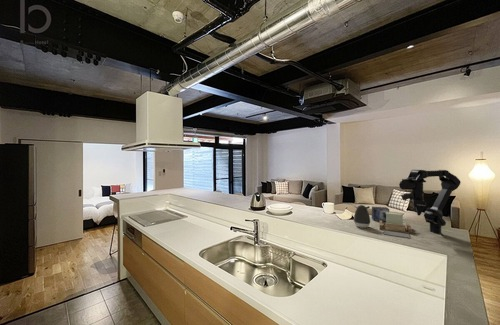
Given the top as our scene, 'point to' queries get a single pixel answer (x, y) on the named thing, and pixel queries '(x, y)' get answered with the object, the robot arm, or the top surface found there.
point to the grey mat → (396, 234)
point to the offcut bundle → (395, 227)
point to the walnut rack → (396, 230)
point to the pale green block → (394, 218)
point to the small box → (379, 213)
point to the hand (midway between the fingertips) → (417, 213)
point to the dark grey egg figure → (362, 217)
